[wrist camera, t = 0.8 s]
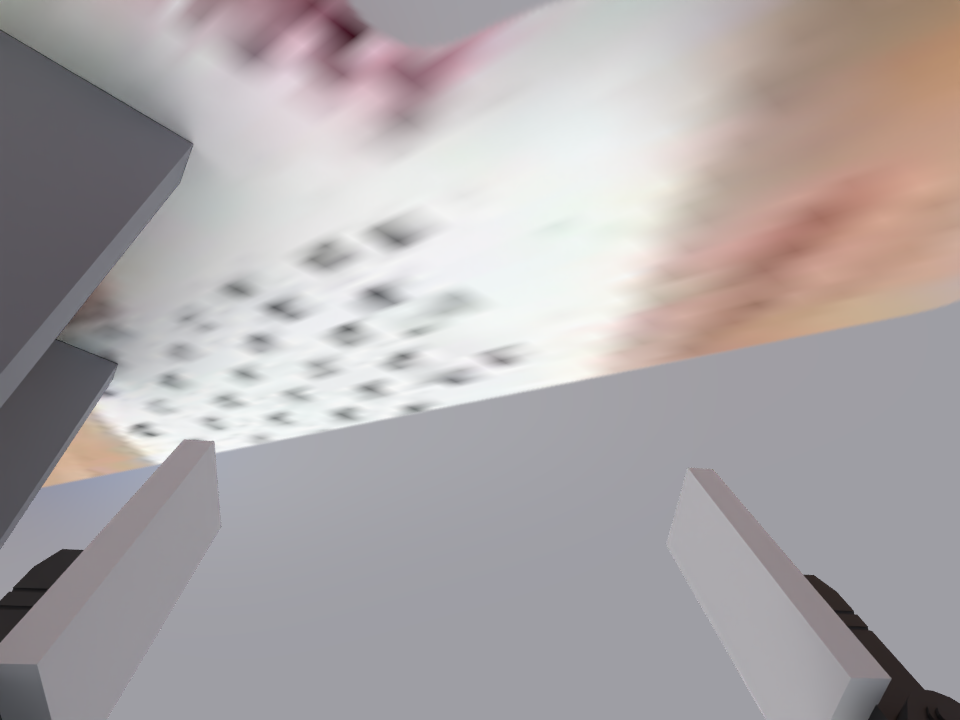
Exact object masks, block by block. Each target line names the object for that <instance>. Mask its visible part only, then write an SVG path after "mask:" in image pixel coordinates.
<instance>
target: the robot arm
mask: <svg viewBox="0 0 960 720" xmlns="http://www.w3.org/2000/svg"><path fill="white" fill-rule="evenodd" d="M218 493H219V492H218V480H217V469H216V456H215V444H214V441H200V440H183V441H182V442H181V443H180V445H179V446H178V447H177V448H176V449H175V450H174V451H173V452H172V453H171V455H170V456H169V457H168V458H167V459H166V460H165V461H164V462H163V463H162V464H161V466H160V467H159V468H158V469H157V470H156V471H155V472H154V473H153V474H152V476H151V477H150V478H149V479H148V480H147V481H146V482H145V483H144V484H143V485H142V487H141V488H140V489H139V490H138V491H137V492H136V493H135V495H133V497H132V498H131V499H130V500H129V501H128V502H127V503H126V504H125V505H124V507H123V508H122V509H121V510H120V511H119V512H118V514H116V515H115V516H114V518H113V519H112V520H111V521H110V522H109V523H108V524H107V525H106V527H104V529H103V530H102V531H101V532H100V533H99V534H98V535H97V536H96V538H95V539H94V540H93V541H92V542H91V543H90V544H89V545H88V546H87V548H86V549H85V550H68V549H62V550H60V551H59V552H57V553H55V554H54V555H52V556H51V557H49V558H47V559H46V560H44V561H42V562H41V563H39V564H37V565H36V566H34V567H33V568H32V569H31V570H30V571H29V572H28V573H27V574H26V575H25V576H24V577H23V578H22V579H21V580H20V581H19V582H18V583H17V584H16V585H15V586H14V587H13V591H12V592H9V593H7V594H6V596H4V597H3V599H1V601H0V720H107V718H108V717H109V715H110V713H111V712H112V710H113V708H114V706H115V705H116V703H117V702H118V700H119V698H120V697H121V695H122V693H123V691H124V690H125V688H126V686H127V685H128V683H129V681H130V680H131V678H132V676H133V675H134V673H135V671H136V670H137V668H138V666H139V664H140V663H141V661H142V659H143V657H144V656H145V654H146V653H147V651H148V649H149V647H150V646H151V644H152V643H153V641H154V639H155V638H156V636H157V634H158V633H159V631H160V629H161V627H162V626H163V624H164V622H165V621H166V619H167V617H168V615H169V614H170V612H171V611H172V609H173V607H174V606H175V604H176V602H177V600H178V599H179V597H180V595H181V594H182V592H183V590H184V589H185V587H186V585H187V584H188V582H189V580H190V579H191V577H192V575H193V574H194V572H195V570H196V569H197V567H198V565H199V563H200V562H201V560H202V558H203V557H204V555H205V553H206V552H207V550H208V548H209V547H210V545H211V543H212V542H213V540H214V538H215V537H216V535H217V533H218V531H219V530H220V528H221V517H220V505H219V494H218ZM666 546H667V547H668V549H669V551H670V552H671V554H672V556H673V558H674V560H675V561H676V563H677V565H678V566H679V568H680V570H681V572H682V574H683V575H684V577H685V579H686V581H687V583H688V584H689V586H690V588H691V589H692V591H693V593H694V595H695V596H696V598H697V600H698V602H699V604H700V605H701V607H702V609H703V611H704V612H705V614H706V616H707V618H708V619H709V621H710V623H711V625H712V626H713V628H714V630H715V632H716V633H717V635H718V637H719V639H720V640H721V642H722V644H723V646H724V648H725V649H726V651H727V653H728V655H729V656H730V658H731V660H732V662H733V663H734V665H735V667H736V669H737V670H738V672H739V674H740V675H741V677H742V679H743V681H744V683H745V684H746V686H747V688H748V690H749V691H750V693H751V695H752V696H753V699H754V700H755V702H756V704H757V706H758V707H759V709H760V711H761V712H762V714H763V716H764V718H765V720H960V703H958V702H957V701H955V700H953V699H952V698H950V697H947V696H945V695H942V694H940V693H937V692H934V691H929V690H924V689H923V688H922V687H921V685H920V684H919V683H918V682H917V681H916V680H915V679H914V678H913V676H912V675H911V674H910V673H909V672H908V671H907V670H906V669H905V668H904V666H903V665H902V664H901V663H900V662H899V661H898V660H897V659H896V657H895V656H894V655H893V654H892V653H891V652H890V651H889V650H888V649H887V648H886V646H885V645H884V644H883V643H882V642H881V641H880V640H879V639H878V637H877V636H876V635H875V634H874V633H873V632H872V631H869V630H868V626H867V625H866V624H865V623H864V622H863V621H862V620H861V618H860V617H859V616H858V615H855V614H854V611H853V610H852V608H851V607H850V606H849V605H848V604H847V603H846V602H845V601H844V599H843V598H842V597H841V596H840V595H839V594H838V593H837V592H836V591H835V590H833V589H832V588H831V587H829V586H828V585H827V584H825V583H824V582H822V581H821V580H820V579H818V578H817V577H816V576H814V575H803V574H802V573H801V572H800V571H799V569H798V568H797V567H796V566H795V565H794V564H793V563H792V561H791V560H790V559H789V558H788V557H787V555H786V554H785V553H784V552H783V551H782V550H781V549H780V547H779V546H778V545H777V544H776V543H775V541H774V540H773V539H772V538H771V537H770V536H769V534H768V533H767V532H766V531H765V530H764V528H763V527H762V526H761V525H760V524H759V523H758V521H757V520H756V519H755V518H754V517H753V516H752V514H751V513H750V512H749V511H748V510H747V509H746V507H745V506H744V505H743V504H742V503H741V502H740V500H739V499H738V498H737V497H736V496H735V494H734V493H733V492H732V491H731V490H730V489H729V488H728V486H727V485H726V484H725V483H724V482H723V480H722V479H721V478H720V477H719V476H718V475H717V473H716V472H715V471H714V470H713V469H700V468H688V469H687V473H686V476H685V479H684V483H683V487H682V490H681V494H680V497H679V501H678V504H677V508H676V512H675V515H674V519H673V522H672V526H671V530H670V533H669V537H668V540H667V544H666Z"/></svg>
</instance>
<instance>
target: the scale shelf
mask: <svg viewBox="0 0 960 720" xmlns="http://www.w3.org/2000/svg"><path fill="white" fill-rule="evenodd" d="M192 146H193V144H192V143H190V142H189V141H187V140H185V139H184V138H182V137H180V136H179V135H177V134H175V133H173V132H172V131H170V130H168V129H167V128H165V127H163V126H162V125H160V124H158V123H157V122H155V121H153V120H151V119H150V118H148V117H146V116H145V115H143V114H141V113H140V112H138V111H136V110H135V109H133V108H131V107H129V106H128V105H126V104H124V103H123V102H121V101H119V100H118V99H116V98H114V97H113V96H111V95H109V94H107V93H106V92H104V91H102V90H101V89H99V88H97V87H96V86H94V85H92V84H91V83H89V82H87V81H86V80H84V79H82V78H80V77H79V76H77V75H75V74H74V73H72V72H70V71H69V70H67V69H65V68H64V67H62V66H60V65H58V64H57V63H55V62H53V61H52V60H50V59H48V58H47V57H45V56H43V55H42V54H40V53H38V52H36V51H35V50H33V49H31V48H30V47H28V46H26V45H25V44H23V43H21V42H20V41H18V40H16V39H14V38H13V37H11V36H9V35H8V34H6V33H4V32H3V31H1V30H0V549H1V548H2V546H3V545H4V543H5V542H6V540H7V538H8V537H9V536H10V534H11V533H12V531H13V530H14V528H15V526H16V525H17V523H18V522H19V520H20V519H21V517H22V516H23V514H24V513H25V511H26V510H27V508H28V507H29V505H30V504H31V502H32V501H33V499H34V498H35V496H36V495H37V493H38V492H39V490H40V489H41V487H42V486H43V484H44V483H45V481H46V480H47V478H48V477H49V475H50V474H51V472H52V470H53V469H54V467H55V466H56V464H57V463H58V461H59V460H60V458H61V457H62V455H63V454H64V452H65V451H66V449H67V448H68V446H69V445H70V443H71V442H72V440H73V439H74V437H75V436H76V434H77V433H78V431H79V430H80V428H81V427H82V425H83V424H84V422H85V421H86V419H87V418H88V416H89V414H90V413H91V411H92V410H93V408H94V407H95V405H96V404H97V402H98V401H99V399H100V398H101V396H102V395H103V393H104V392H105V390H106V389H107V387H108V386H109V384H110V383H111V381H112V379H113V376H114V373H115V370H116V367H117V364H116V363H113V362H111V361H108V360H106V359H103V358H101V357H98V356H96V355H93V354H91V353H88V352H86V351H83V350H81V349H78V348H76V347H73V346H71V345H68V344H66V343H63V342H61V341H58V340H56V338H57V336H58V335H59V334H60V333H61V331H62V330H63V329H64V328H65V326H66V325H67V324H68V323H69V321H70V320H71V319H72V318H73V316H74V315H75V314H76V313H77V311H78V310H79V309H80V307H81V306H82V305H83V304H84V302H85V301H86V300H87V299H88V297H89V296H90V295H91V294H92V292H93V291H94V290H95V289H96V287H97V286H98V285H99V284H100V282H101V281H102V280H103V279H104V277H105V276H106V275H107V274H108V272H109V271H110V270H111V269H112V267H113V266H114V265H115V264H116V262H117V261H118V260H119V259H120V257H121V256H122V255H123V254H124V252H125V251H126V250H127V248H128V247H129V246H130V245H131V243H132V242H133V241H134V240H135V238H136V237H137V236H138V235H139V233H140V232H141V231H142V230H143V228H144V227H145V226H146V225H147V223H148V222H149V221H150V220H151V218H152V217H153V216H154V215H155V213H156V212H157V211H158V210H159V208H160V207H161V206H162V205H163V203H164V202H165V201H166V200H167V198H168V197H169V196H170V195H171V193H172V192H173V191H174V189H175V188H176V187H177V186H178V184H179V183H180V181H181V178H182V175H183V172H184V169H185V166H186V163H187V160H188V158H189V155H190V152H191V149H192Z"/></svg>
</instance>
